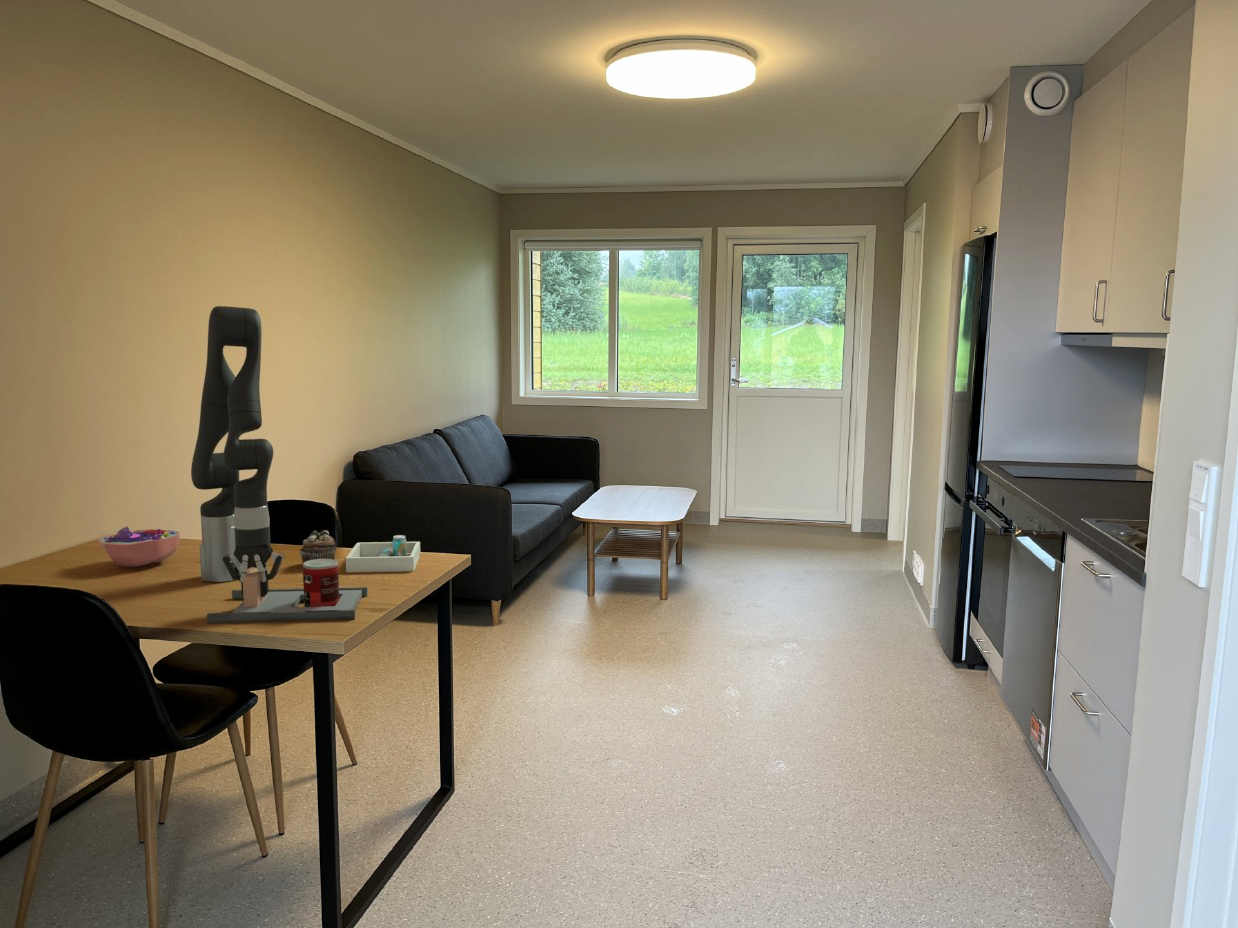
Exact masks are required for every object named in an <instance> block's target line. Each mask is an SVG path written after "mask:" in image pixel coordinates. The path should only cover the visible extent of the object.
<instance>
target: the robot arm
mask: <svg viewBox="0 0 1238 928" xmlns="http://www.w3.org/2000/svg"><path fill="white" fill-rule="evenodd" d="M207 329H208V330H207V352H206V353H207V354H206V366H205V374H204V379H203V380H204V381H203V387H202V393H201V403H200V410H199V411H200V414H199V422H198V423H199V424H198V432H197V439H196V444H195V447H194V452H193V456H192V460H191V467H190V469H191V471H190V476H191V483H192V485H193V486H194V487H195V488H196V489H198V490H204V491H205V490H218V489H221V491H219V493H218V494H217V495H216V496H214V497H212V498H211V499H208V500H207V501H204V502H203V503H201V504H200V506H199V507H200V508H199V509H200V512H199V513H200V527H201V529H200V530H201V543H200V545H199V561H200V562H199V563H200V575H201V578H200V579H201V582H202V581H204V582H212V583H221V582H223V583H224V582H229V581H239V582H240V585H241V588H240V590H242V595H243V577H244V576H245V575H246V574H247V573H248V572H250V570H251V569H253V568H257V569H258V573H259V574H260V578H261V582H260V590H261V597H265V596H266V595H267V594H268V592H269V588H270V587H269V586H270V585H269V581H270V580H274V578H276V576H277V575H278V573H279V569H280V568H281V565H282V563H283V560H284V558H285V554H284V553H277V552H275V551H274V550H273V548H272V546H271V530H270V528H271V527H270V522H271V521H270V520H271V518H270V514H269V512H270V511H269V507H268V481H269V480H268V479H269V473H270V470H271V467H272V463H273V459H274V448H273V444H271V442H270V441H269V440H268V439H266V438H247V439H246V438H245V439H240V437H241V436H242V435H244V434H247V433H250V432H254V431H256V430H259V429H260V428H261V427H262V425H263V418H262V416H263V415H262V407H261V397H260V395H261V394H260V393H261V392H260V384H261V383H260V380H261V375H260V374H261V366H262V365H261V361H262V360H261V359H262V358H261V357H262V334H263V333H262V321H261V316H260V314H259V312H258V311H257V310H256V309H254V308H249V307H240V306H239V307H238V306H223V305H216V306H214V307H213V308H212V310H211V311H210V314H209V318H208V328H207ZM226 346H227V347H238V348H239V347H241V348H245V349H246V352H245V359H244V362H243V364H242V366H241V367H240V370H239V371H238V373H237V374H236V376H235V374H234V373H233V371H232V369H231V368H230V366H229V364H228V362H227V360H226V357H225V355H224V348H225V347H226ZM226 435H227V437H226V438H227V439H226V442H225V444H224V450H223V452H215V450H216V448H217V446H218V444H219V443H220V441H222V439H223V438H224V437H225V436H226ZM249 470H250V471H251V470H256V472H255V473H254V474H253V476H251V477H249V478H245V479H242V480H240V471H249ZM270 558H272V563H273V565H272V567H271V570H270V572H269V571H268V565H267V562H268V561H269V560H270Z"/></svg>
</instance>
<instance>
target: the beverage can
mask: <svg viewBox="0 0 1238 928" xmlns="http://www.w3.org/2000/svg"><path fill="white" fill-rule="evenodd" d="M392 538H393V539H392V542H393V548H391V547H386V548H384V549H383V550H382V552H381V553H380V554H379V555H378V556H377V557H394V556H407V555H406V542H407V538H406V535H401V534H397V535H393V537H392Z"/></svg>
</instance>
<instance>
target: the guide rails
mask: <svg viewBox="0 0 1238 928" xmlns="http://www.w3.org/2000/svg"><path fill="white" fill-rule="evenodd" d="M339 590H362V597H368V595H369V593H368V590H369V589H368V586H365V587H363V586H362V587H361V586H360V587H355V586H354V587H339ZM282 591H304V588H271V589H269V592H282ZM231 600H244V596H243V595H242V590H241V589H233V590H231ZM355 619H356V609H354V610H317V611H275V612H234V613H232V612H207V614H206V623H207V624H223V623H224V624H225V623H229V624H230V623H262V622H263V623H265V622H268V623H271V622H299V621H301V622H302V621H303V622H305V621H340V620H341V621H345V620H346V621H348V620H355Z"/></svg>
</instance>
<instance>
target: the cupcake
mask: <svg viewBox="0 0 1238 928" xmlns="http://www.w3.org/2000/svg"><path fill="white" fill-rule="evenodd" d="M336 550H337V546H336V541H335V539H334V538H333V537H332V536H330V533H329V531H328V530H327V529H325V530H323V529H322V530H321V531H317V530H313V531H311V533H310V534H309V536H308V537H307V538H306V539H304V540H303V541H302V547H301V548H300V549H299V553H300V556H301V562H302V564H303V563H304V562H306V561H309V560H314V559H333V560H335V556H336V552H337V551H336Z"/></svg>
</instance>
